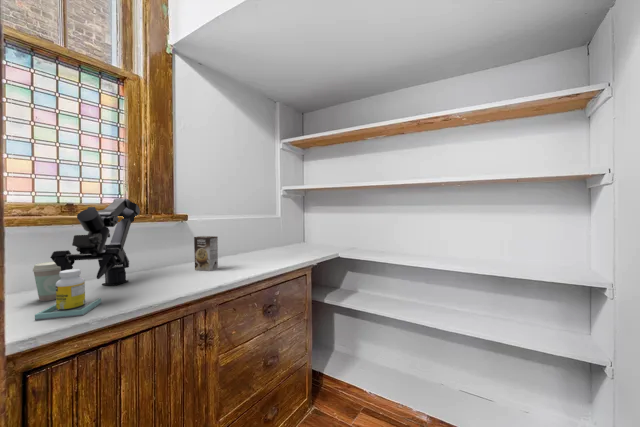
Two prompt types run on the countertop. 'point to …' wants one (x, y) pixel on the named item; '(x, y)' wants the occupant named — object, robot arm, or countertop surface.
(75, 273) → the pill bottle
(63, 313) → the dock
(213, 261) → the coffee box
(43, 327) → the countertop surface
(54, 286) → the coffee cup
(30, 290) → the countertop surface
